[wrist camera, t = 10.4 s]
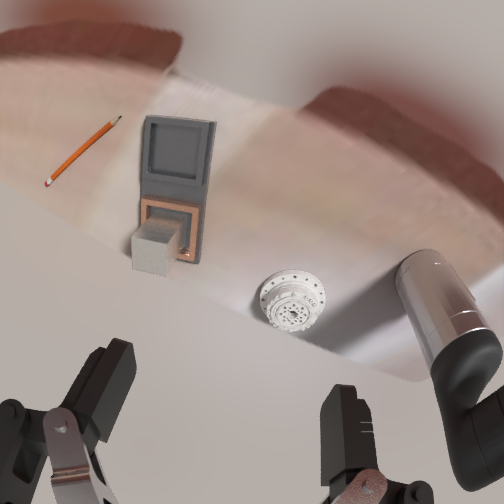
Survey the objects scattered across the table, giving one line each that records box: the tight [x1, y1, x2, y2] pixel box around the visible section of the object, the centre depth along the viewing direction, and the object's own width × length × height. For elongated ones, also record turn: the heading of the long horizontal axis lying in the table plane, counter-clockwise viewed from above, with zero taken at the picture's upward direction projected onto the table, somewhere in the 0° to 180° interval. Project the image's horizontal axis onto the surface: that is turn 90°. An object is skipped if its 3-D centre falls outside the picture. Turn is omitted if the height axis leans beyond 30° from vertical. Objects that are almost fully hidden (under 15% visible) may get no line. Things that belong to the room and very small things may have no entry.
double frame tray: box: [141, 115, 217, 264], centre depth 38 cm, size 9×20×2 cm, turn 170°
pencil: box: [45, 116, 121, 187], centre depth 37 cm, size 1×19×1 cm, turn 118°
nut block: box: [131, 210, 187, 277], centre depth 37 cm, size 4×4×8 cm
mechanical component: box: [260, 270, 326, 332], centre depth 44 cm, size 10×4×10 cm
